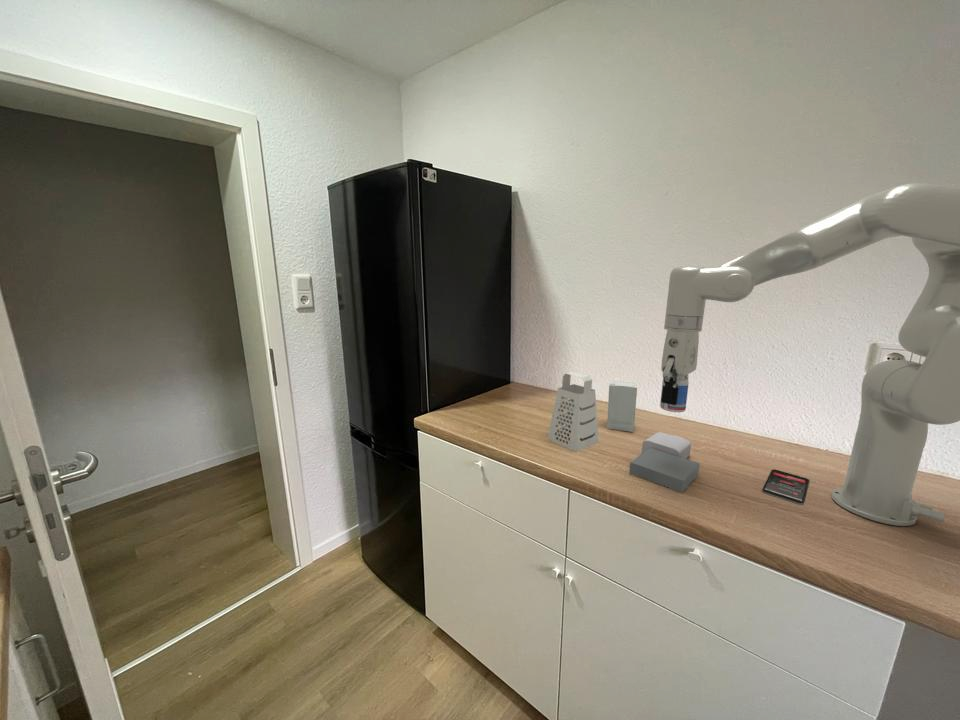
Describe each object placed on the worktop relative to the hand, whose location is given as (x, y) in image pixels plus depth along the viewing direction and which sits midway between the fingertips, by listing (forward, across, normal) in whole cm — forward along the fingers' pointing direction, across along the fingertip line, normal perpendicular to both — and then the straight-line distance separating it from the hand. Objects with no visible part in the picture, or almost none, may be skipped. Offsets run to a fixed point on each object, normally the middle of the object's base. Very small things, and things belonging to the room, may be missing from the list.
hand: (673, 399), depth 90 cm
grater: (+19, +1, +26) cm, 32 cm away
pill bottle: (+2, 0, 0) cm, 2 cm away
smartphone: (+20, +15, -22) cm, 33 cm away
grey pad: (+19, 0, 0) cm, 19 cm away
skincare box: (+19, +21, +21) cm, 35 cm away
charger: (+19, +14, +3) cm, 24 cm away
